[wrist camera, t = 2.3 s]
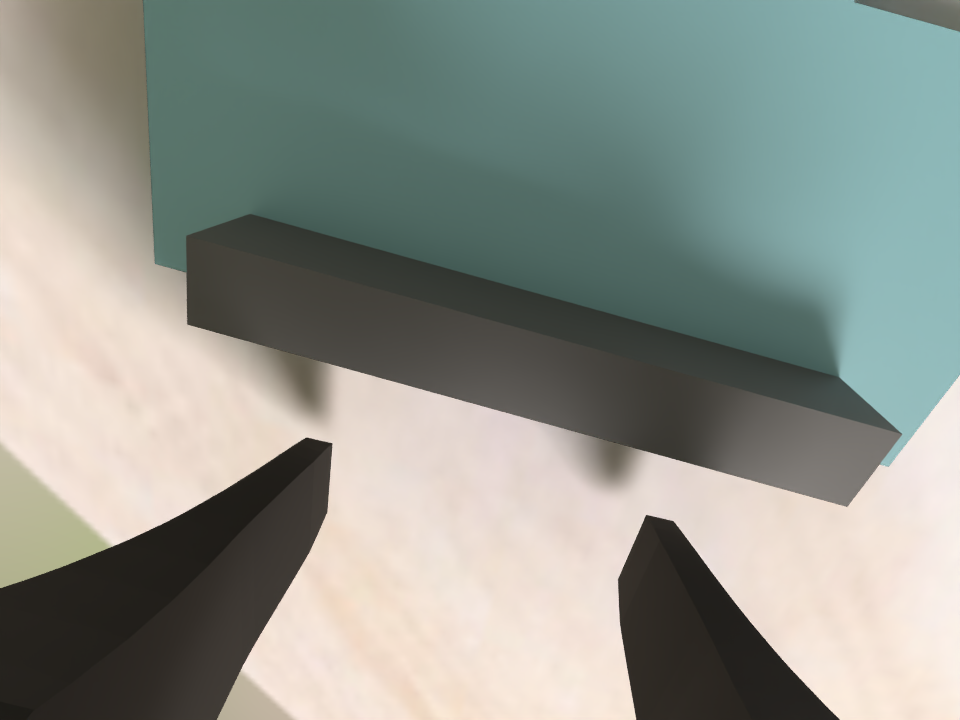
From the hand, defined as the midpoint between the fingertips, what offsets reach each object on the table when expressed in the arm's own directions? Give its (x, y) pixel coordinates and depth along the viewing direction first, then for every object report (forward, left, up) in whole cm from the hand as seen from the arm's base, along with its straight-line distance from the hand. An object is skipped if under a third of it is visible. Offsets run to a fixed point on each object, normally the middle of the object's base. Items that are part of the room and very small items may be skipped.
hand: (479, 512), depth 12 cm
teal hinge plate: (0, -9, -2) cm, 9 cm away
